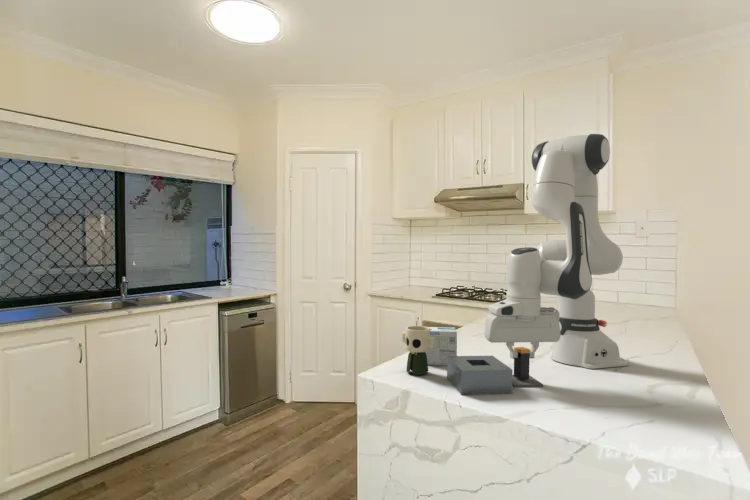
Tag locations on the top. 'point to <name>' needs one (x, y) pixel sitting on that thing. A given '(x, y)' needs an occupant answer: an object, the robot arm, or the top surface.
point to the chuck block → (479, 375)
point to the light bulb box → (442, 345)
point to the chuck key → (521, 363)
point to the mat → (525, 382)
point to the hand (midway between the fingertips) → (522, 358)
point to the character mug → (417, 348)
